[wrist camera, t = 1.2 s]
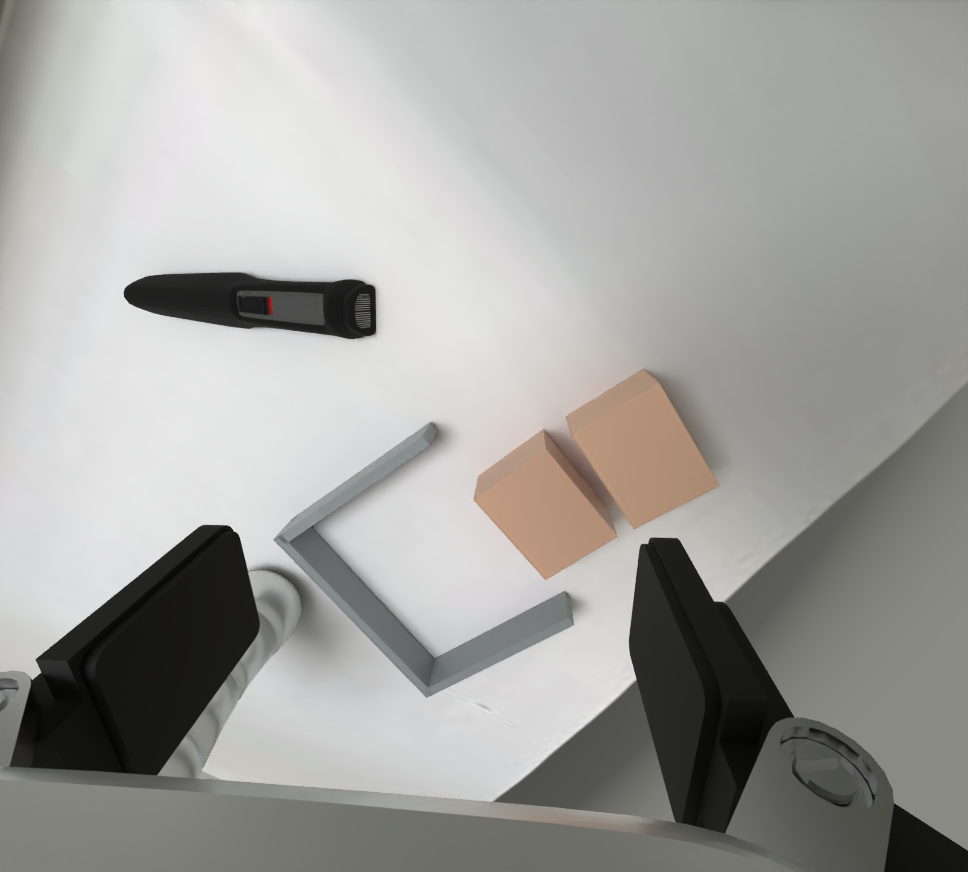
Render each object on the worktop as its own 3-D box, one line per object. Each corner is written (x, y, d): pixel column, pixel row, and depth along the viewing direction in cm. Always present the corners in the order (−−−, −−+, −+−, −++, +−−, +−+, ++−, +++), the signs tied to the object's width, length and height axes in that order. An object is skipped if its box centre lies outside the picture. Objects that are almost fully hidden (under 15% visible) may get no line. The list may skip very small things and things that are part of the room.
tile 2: (642, 368, 31) (659, 382, 27) (696, 460, 33) (719, 485, 29) (565, 415, 32) (570, 434, 29) (621, 500, 34) (633, 529, 30)
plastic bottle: (292, 633, 41) (98, 941, 22) (223, 596, 40) (-38, 883, 21) (323, 586, 39) (138, 882, 20) (252, 545, 38) (-11, 815, 19)
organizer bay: (430, 421, 33) (422, 436, 30) (570, 598, 37) (573, 624, 34) (292, 518, 37) (273, 539, 34) (433, 668, 41) (426, 697, 38)
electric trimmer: (153, 262, 31) (113, 261, 28) (376, 280, 30) (360, 282, 27) (163, 319, 32) (126, 324, 29) (377, 338, 31) (361, 345, 29)
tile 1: (542, 428, 33) (545, 448, 29) (606, 507, 34) (617, 536, 31) (478, 474, 34) (473, 499, 31) (543, 547, 36) (545, 580, 32)
